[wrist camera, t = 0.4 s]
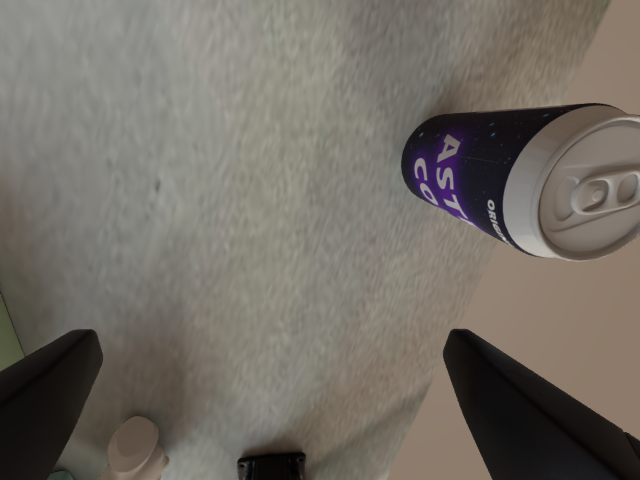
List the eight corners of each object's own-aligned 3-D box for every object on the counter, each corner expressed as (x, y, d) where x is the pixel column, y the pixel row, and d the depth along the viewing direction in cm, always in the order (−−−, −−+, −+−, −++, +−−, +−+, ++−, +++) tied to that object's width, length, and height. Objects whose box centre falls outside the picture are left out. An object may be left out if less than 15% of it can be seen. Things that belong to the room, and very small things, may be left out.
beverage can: (393, 122, 20) (531, 117, 9) (476, 107, 20) (711, 85, 9) (399, 205, 22) (517, 286, 11) (474, 191, 22) (664, 255, 11)
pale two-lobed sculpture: (160, 462, 30) (97, 471, 27) (182, 404, 27) (115, 408, 25) (158, 514, 26) (86, 531, 24) (182, 453, 24) (105, 464, 21)
